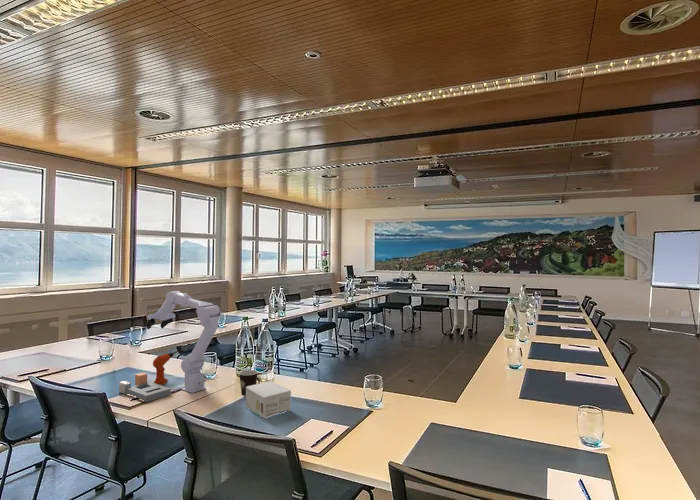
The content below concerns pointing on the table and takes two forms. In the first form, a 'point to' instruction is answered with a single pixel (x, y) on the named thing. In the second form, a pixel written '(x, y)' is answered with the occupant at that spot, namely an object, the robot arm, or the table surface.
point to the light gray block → (124, 386)
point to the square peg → (140, 378)
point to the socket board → (149, 391)
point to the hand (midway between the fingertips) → (154, 327)
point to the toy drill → (161, 367)
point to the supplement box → (268, 398)
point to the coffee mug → (248, 379)
